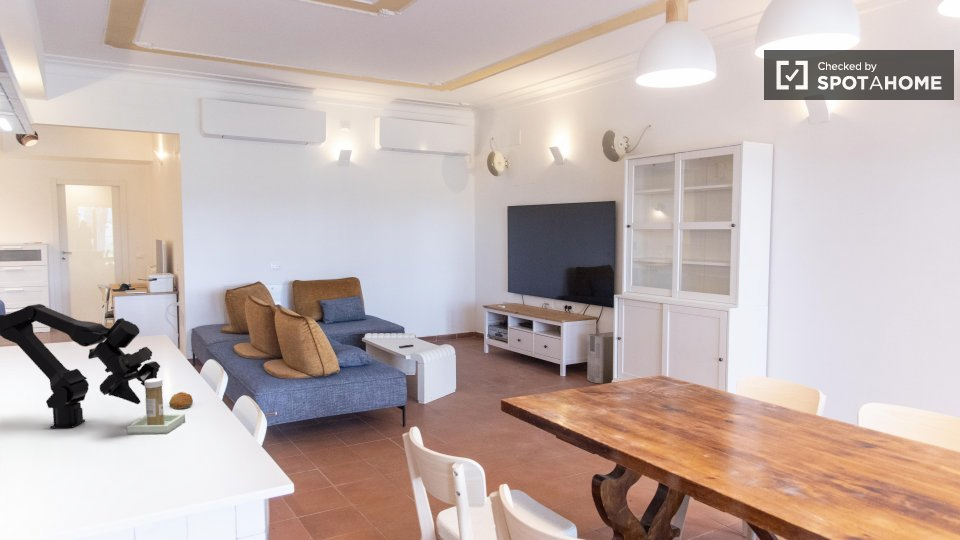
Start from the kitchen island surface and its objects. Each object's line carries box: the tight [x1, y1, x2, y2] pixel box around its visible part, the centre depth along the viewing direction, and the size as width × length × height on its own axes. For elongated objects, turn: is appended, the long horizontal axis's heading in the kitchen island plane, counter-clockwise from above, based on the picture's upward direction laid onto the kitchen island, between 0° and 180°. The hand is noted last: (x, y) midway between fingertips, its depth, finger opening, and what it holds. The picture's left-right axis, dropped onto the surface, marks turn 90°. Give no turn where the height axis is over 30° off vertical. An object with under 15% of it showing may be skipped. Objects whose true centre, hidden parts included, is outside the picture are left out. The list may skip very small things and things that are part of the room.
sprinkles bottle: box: [144, 377, 165, 425], centre depth 184 cm, size 5×5×13 cm
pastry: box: [168, 391, 194, 410], centre depth 207 cm, size 9×7×4 cm
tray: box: [126, 413, 186, 435], centre depth 185 cm, size 11×11×2 cm
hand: (150, 398), depth 184 cm, fingers open, 9 cm apart
